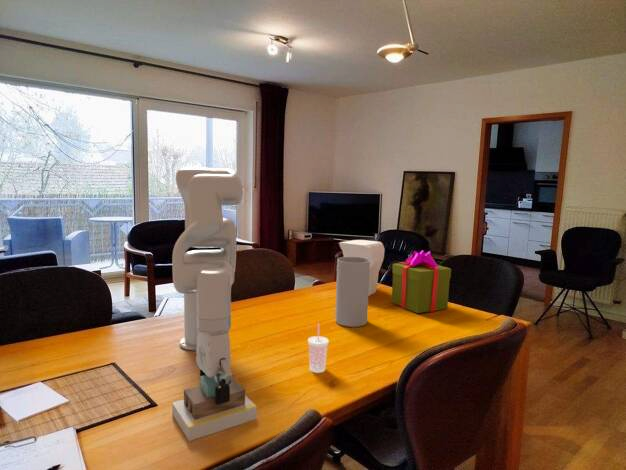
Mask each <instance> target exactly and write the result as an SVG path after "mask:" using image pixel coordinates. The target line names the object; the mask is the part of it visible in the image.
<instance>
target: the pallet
mask: <svg viewBox="0 0 626 470" xmlns="http://www.w3.org/2000/svg"><path fill="white" fill-rule="evenodd" d="M245 395H246V390H245V388H244V387H243V386H242V385H241V384H239V383H238V382H237V381H236V379H234V378H233V377H231V383H230V400H229V402H226V403H222V404H219V405H216V403H215V396H213V397H210V398H207V396H206V395H205V394H204V393H203V391H202V390H201V389H200V385H197V386H194V387H189V388H185V389H183V400H184V405H185V407H188V411H189V412H190V413H192V417H193V418H194V419H195V420H196V419H199V418H203V417H206V416H209V415H212V414H216V413H219V412H222V411H226V410H229V409H232V408H236V407H239V406H242V405H245Z"/></svg>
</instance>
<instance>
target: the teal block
mask: <svg viewBox="0 0 626 470" xmlns="http://www.w3.org/2000/svg"><path fill="white" fill-rule="evenodd" d="M221 372H222V370H221V371H218V373H221ZM222 379H224V376H220V377H219V380H220V381H221V380H222ZM199 386H200V389H201V390H202V391H203V393H204V394H205V395H206V396H207V398H210V397H213V396H215V387H217V385H216V381H215V377H213V378H209V377H208V376H207V375H204V376H200V375H199Z"/></svg>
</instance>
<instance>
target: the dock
mask: <svg viewBox="0 0 626 470" xmlns="http://www.w3.org/2000/svg"><path fill="white" fill-rule="evenodd" d="M171 408H172V409H171V410H172V411H171V412H172V413H171V414H172V416H173V418H174V420H175V421H176V423H177V424H178V426H179V427H180V430H181V431H182V432H183V434H184V435H185V437H186V439H187V440H188V442H191V441H194V440H197V439H199V438H203V437H206V436H209V435H211V434H215V433H219V432H221V431H224V430H228V429H230V428H233V427H236V426H238V425H243V424H246V423H249V422H251V421H255V420H257V419H258V407H257V405H256V404H255V403H254V402H253V401H252V400H251V399H250V398H249V397H248V396H247V395H246V394H245V405H242V406H239V407H236V408H232V409H229V410H226V411H222V412H219V413H216V414H212V415H209V416H206V417H203V418H199V419H196V420H195V419H194V418H193V417H192V413H190V412H189V411H188V407H185V405H184V399H181V400H177V401H173V402H172V403H171Z"/></svg>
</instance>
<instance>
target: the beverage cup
mask: <svg viewBox="0 0 626 470" xmlns="http://www.w3.org/2000/svg"><path fill="white" fill-rule="evenodd" d="M329 342H330V341H329V338H328V337H324V336H320V322H319V323H317V336H310V337H308V339H307V344H308V353H309V354H308V357H309V360H308V361H309V371H310V372H312V373H316V374H317V373H318V374H319V373H323V372H325V371H326V362H327V352H328V345H329Z"/></svg>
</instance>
